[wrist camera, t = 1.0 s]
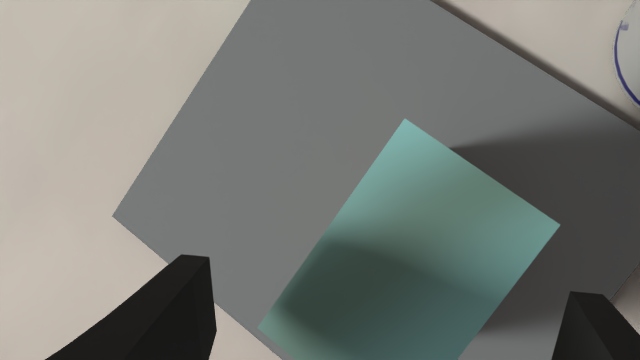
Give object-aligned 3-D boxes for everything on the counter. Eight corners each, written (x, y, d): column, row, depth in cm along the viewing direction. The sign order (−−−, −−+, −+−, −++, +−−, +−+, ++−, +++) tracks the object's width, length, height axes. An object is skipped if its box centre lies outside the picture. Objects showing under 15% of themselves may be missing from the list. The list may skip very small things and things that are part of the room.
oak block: (529, 211, 22) (560, 225, 13) (432, 339, 23) (393, 441, 14) (438, 149, 23) (404, 117, 14) (349, 274, 24) (257, 327, 14)
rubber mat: (704, 175, 21) (710, 174, 21) (450, 493, 23) (449, 500, 23) (306, -74, 26) (301, -80, 25) (119, 215, 28) (111, 216, 27)
